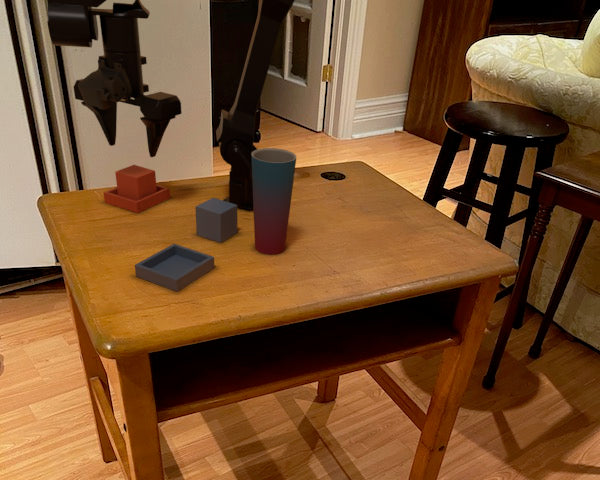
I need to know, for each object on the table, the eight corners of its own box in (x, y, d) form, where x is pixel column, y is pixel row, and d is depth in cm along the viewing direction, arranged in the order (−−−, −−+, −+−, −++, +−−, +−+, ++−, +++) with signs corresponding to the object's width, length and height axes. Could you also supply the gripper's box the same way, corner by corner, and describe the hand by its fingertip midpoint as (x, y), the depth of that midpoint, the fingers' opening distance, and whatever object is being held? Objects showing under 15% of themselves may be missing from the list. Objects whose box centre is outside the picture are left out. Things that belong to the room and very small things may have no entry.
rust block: (136, 191, 111) (133, 164, 108) (157, 197, 110) (155, 170, 106) (118, 199, 108) (114, 171, 105) (139, 205, 106) (136, 177, 103)
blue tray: (174, 254, 93) (174, 243, 92) (214, 268, 91) (214, 256, 90) (135, 276, 87) (134, 264, 86) (177, 291, 84) (176, 280, 83)
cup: (244, 241, 99) (245, 148, 89) (282, 237, 101) (287, 147, 92) (256, 259, 94) (259, 163, 85) (296, 254, 96) (303, 161, 87)
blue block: (213, 225, 103) (213, 197, 100) (237, 233, 101) (237, 204, 98) (196, 235, 99) (195, 206, 96) (220, 243, 98) (220, 214, 94)
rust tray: (138, 188, 113) (137, 178, 112) (170, 198, 111) (169, 188, 110) (104, 202, 107) (103, 192, 106) (137, 213, 104) (136, 202, 103)
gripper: (39, 45, 91) (58, 149, 101) (132, 66, 85) (143, 175, 95) (92, 38, 99) (104, 136, 108) (180, 56, 92) (185, 158, 102)
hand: (132, 150), depth 103 cm, fingers open, 9 cm apart
